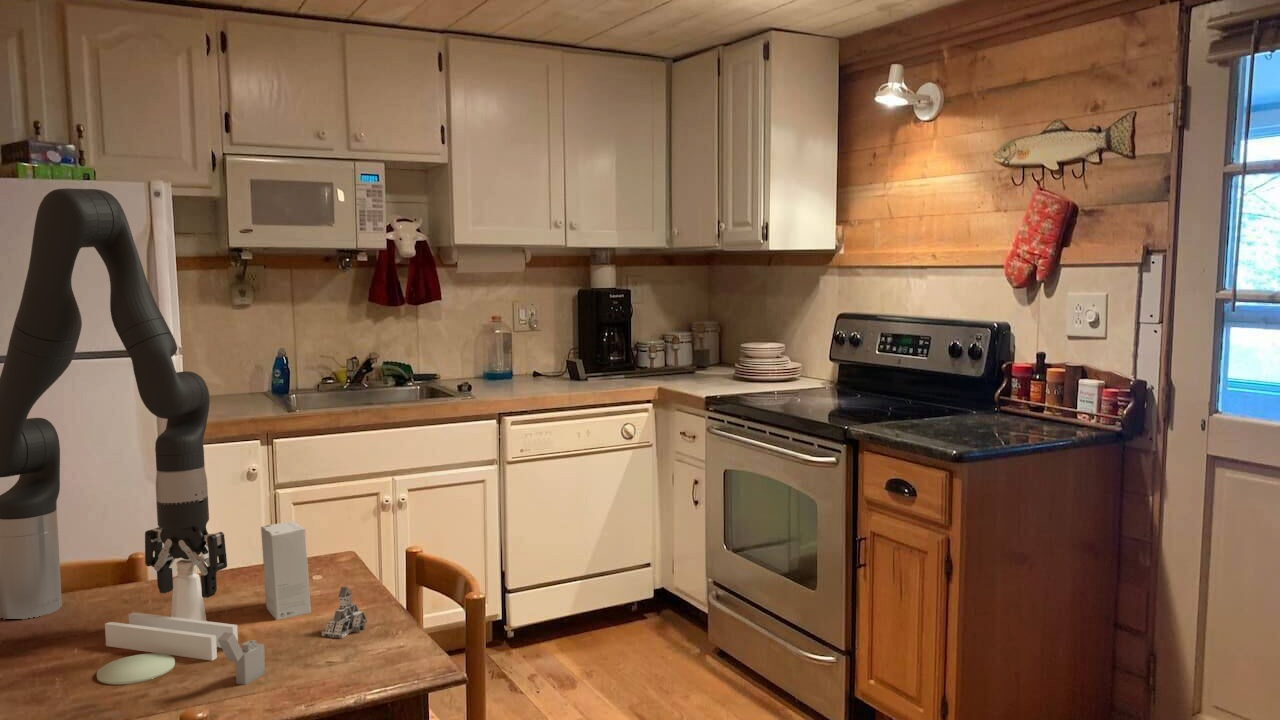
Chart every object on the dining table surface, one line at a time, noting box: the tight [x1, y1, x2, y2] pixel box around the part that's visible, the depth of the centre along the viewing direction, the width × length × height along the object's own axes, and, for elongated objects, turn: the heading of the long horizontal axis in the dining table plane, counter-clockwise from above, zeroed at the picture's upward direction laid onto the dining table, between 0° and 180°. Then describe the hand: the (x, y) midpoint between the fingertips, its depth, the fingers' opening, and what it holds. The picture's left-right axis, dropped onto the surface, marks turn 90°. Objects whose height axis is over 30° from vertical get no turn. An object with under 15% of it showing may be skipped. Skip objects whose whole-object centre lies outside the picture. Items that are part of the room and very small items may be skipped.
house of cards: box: [321, 586, 368, 639], centre depth 150 cm, size 9×9×8 cm
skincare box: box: [260, 520, 312, 621], centre depth 160 cm, size 8×6×15 cm
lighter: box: [218, 632, 266, 685], centre depth 132 cm, size 7×2×8 cm, turn 161°
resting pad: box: [96, 652, 176, 686], centre depth 136 cm, size 10×10×1 cm
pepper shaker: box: [170, 558, 208, 621], centre depth 153 cm, size 5×5×11 cm
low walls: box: [104, 611, 239, 661], centre depth 145 cm, size 20×6×4 cm, turn 73°
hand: (187, 594), depth 153 cm, fingers open, 8 cm apart
